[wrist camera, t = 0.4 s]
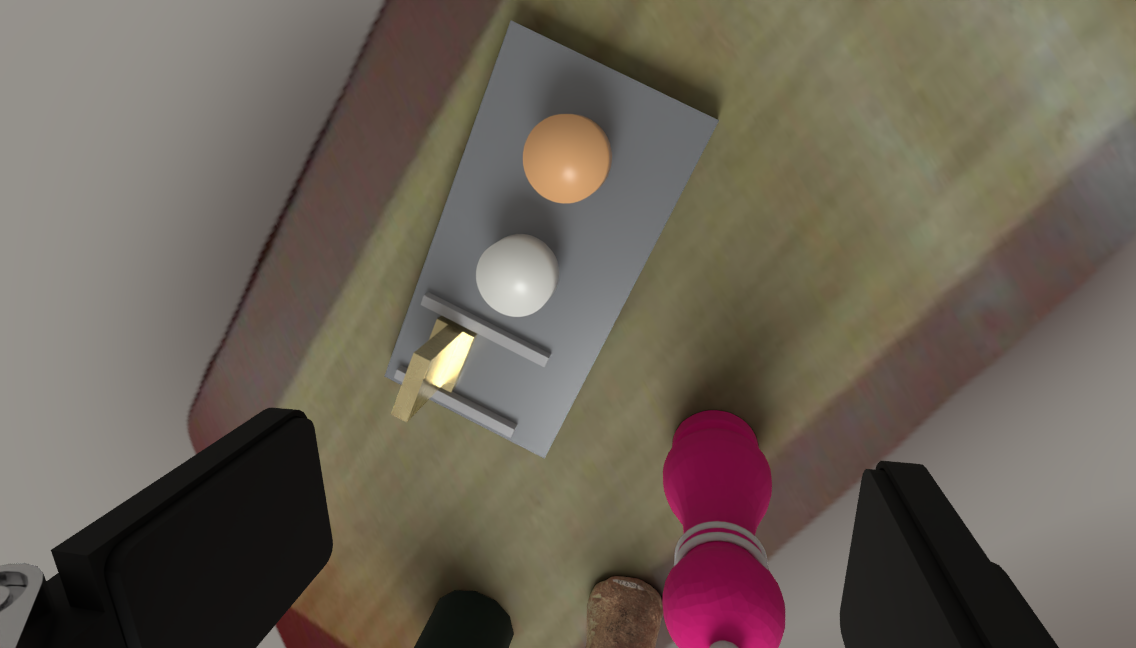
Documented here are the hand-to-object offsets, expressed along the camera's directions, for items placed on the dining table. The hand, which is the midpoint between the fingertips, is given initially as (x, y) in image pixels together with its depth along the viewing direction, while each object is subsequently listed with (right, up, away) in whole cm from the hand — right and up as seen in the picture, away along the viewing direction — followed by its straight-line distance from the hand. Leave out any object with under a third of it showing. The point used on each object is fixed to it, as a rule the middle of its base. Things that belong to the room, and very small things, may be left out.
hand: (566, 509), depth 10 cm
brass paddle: (-9, +1, +34) cm, 35 cm away
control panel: (-2, +8, +33) cm, 34 cm away
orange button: (0, +13, +26) cm, 29 cm away
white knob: (-3, +7, +29) cm, 30 cm away
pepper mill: (+11, -6, +35) cm, 37 cm away
